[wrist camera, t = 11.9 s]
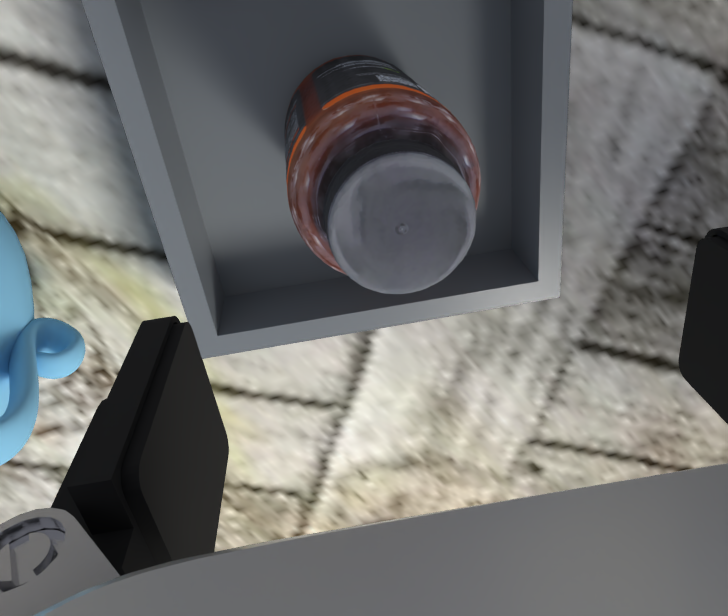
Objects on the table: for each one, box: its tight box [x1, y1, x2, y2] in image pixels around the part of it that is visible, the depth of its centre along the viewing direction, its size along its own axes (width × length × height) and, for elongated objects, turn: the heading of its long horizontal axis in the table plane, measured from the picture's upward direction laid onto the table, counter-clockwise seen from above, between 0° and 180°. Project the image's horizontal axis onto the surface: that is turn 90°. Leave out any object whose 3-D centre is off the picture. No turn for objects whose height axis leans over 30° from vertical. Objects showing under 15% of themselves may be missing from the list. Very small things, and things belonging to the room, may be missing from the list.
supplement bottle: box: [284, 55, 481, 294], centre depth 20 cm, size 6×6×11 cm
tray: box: [81, 0, 573, 359], centre depth 24 cm, size 16×16×4 cm
